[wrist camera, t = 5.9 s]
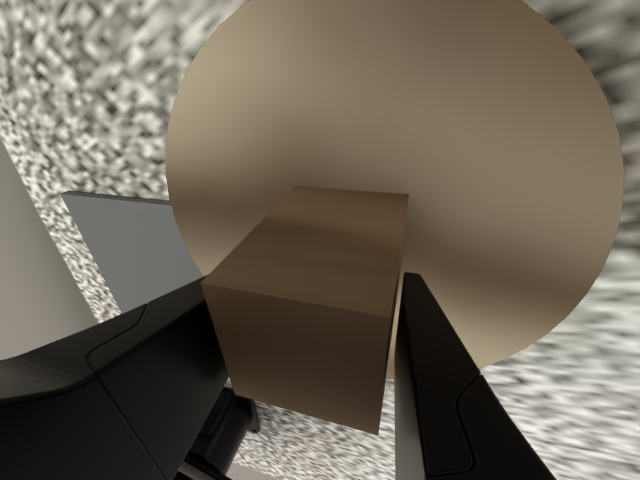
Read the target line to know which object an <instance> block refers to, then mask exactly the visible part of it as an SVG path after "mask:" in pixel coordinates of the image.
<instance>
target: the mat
mask: <svg viewBox="0 0 640 480" xmlns="http://www.w3.org/2000/svg"><path fill="white" fill-rule="evenodd" d="M61 196H62V198H63V200H64V202H65V204H66V206H67V208H68V210H69V212H70V214H71V216H72V218H73V220H74V221H75V223H76V225H77V227H78V229H79V231H80V233H81V235H82V237H83V239H84V241H85V243H86V245H87V247H88V248H89V250H90V252H91V254H92V256H93V258H94V260H95V262H96V264H97V266H98V268H99V270H100V272H101V274H102V276H103V277H104V279H105V281H106V283H107V285H108V287H109V289H110V291H111V293H112V295H113V297H114V299H115V301H116V303H117V305H118V306H119V308H120V310H121V312H122V314H123V313H125V312H127V311H130V310H132V309H134V308H136V307H138V306H140V305H143V304H145V303H147V304H148V302H149V301H151V300H154V299H156V298H158V297H160V296H162V295H164V294H167V293H169V292H171V291H173V290H175V289H178V288H180V287H182V286H184V285H186V284H188V283H191V282H193V281H195V280H197V279H199V278H201V277H204V276H203V275H202V273H201V272H200V270H199V268H198V267H197V265H196V264H195V262H194V260H193V259H192V257H191V255H190V253H189V251H188V249H187V247H186V245H185V243H184V241H183V239H182V236H181V234H180V231H179V228H178V226H177V223H176V221H175V217H174V214H173V210H172V206H171V202H170V201H163V200H153V199H143V198H132V197H122V196H112V195H102V194H92V193H82V192H72V191H67V192H64V193H62V194H61Z"/></svg>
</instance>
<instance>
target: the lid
mask: <svg viewBox="0 0 640 480" xmlns="http://www.w3.org/2000/svg"><path fill="white" fill-rule="evenodd" d="M165 154H166V178H167V185H168V192H169V198H170V202H171V206H172V210H173V214H174V217H175V221H176V223H177V226H178V228H179V231H180V234H181V236H182V239H183V241H184V243H185V245H186V247H187V249H188V251H189V253H190V255H191V257H192V259H193V260H194V262H195V264H196V265H197V267H198V268H199V270H200V272H201V273H202V275H203V276H206V275H208V274H209V275H208V276H207V277H206V278H205V279H204V280H203V281H202V282H201V283H200V284H201V287H202V290H203V293H204V296H205V300H206V303H207V306H208V309H209V313H210V316H211V319H212V322H213V325H214V329H215V332H216V335H217V338H218V341H219V345H220V348H221V351H222V354H223V358H224V361H225V364H226V367H227V370H228V374H229V377H230V380H231V383H232V387H233V390H234V393H235V395H239V396H242V397H246V398H249V399H253V400H256V401H260V402H263V403H267V404H270V405H274V406H277V407H281V408H284V409H288V410H291V411H295V412H298V413H302V414H305V415H309V416H312V417H316V418H319V419H323V420H326V421H330V422H333V423H337V424H340V425H344V426H347V427H351V428H354V429H358V430H361V431H365V432H368V433H372V434H375V435H378V432H379V425H380V418H381V411H382V403H383V396H384V389H385V382H386V379H394V352H395V342H396V333H397V325H398V317H399V308H400V300H401V292H402V284H403V276H404V273H405V272H411V273H418V274H420V275H421V276H422V278H423V279H424V281H425V283H426V284H427V286H428V287H429V289H430V291H431V292H432V294H433V296H434V297H435V299H436V300H437V302H438V304H439V305H440V307H441V308H442V310H443V312H444V313H445V315H446V317H447V318H448V320H449V321H450V323H451V325H452V326H453V328H454V330H455V331H456V333H457V334H458V336H459V338H460V339H461V341H462V343H463V344H464V346H465V347H466V349H467V351H468V352H469V354H470V356H471V357H472V359H473V360H474V362H475V364H476V365H477V367H478V368H479V369H480V368H482V367H485V366H488V365H490V364H493V363H496V362H498V361H501V360H503V359H505V358H507V357H509V356H511V355H513V354H515V353H517V352H519V351H521V350H523V349H525V348H527V347H528V346H530V345H531V344H533V343H534V342H536V341H537V340H539V339H540V338H542V337H543V336H545V335H546V334H547V333H549V332H550V331H551V330H552V329H553V328H554V327H555V326H557V325H558V324H559V323H560V322H561V321H562V320H564V319H565V318H566V317H567V316H568V315H569V314H570V313H571V311H572V310H573V309H574V308H575V307H576V306H577V305H578V303H579V302H580V301H581V300H582V299H583V298H584V297H585V295H586V294H587V293H588V291H589V289H590V288H591V286H592V285H593V283H594V282H595V280H596V278H597V277H598V275H599V274H600V272H601V271H602V269H603V267H604V264H605V262H606V260H607V257H608V255H609V253H610V250H611V248H612V246H613V243H614V241H615V237H616V233H617V229H618V225H619V220H620V216H621V212H622V208H623V188H624V167H623V159H622V152H621V145H620V138H619V133H618V130H617V128H616V125H615V122H614V119H613V116H612V113H611V110H610V107H609V104H608V101H607V98H606V96H605V95H604V93H603V91H602V89H601V88H600V86H599V84H598V82H597V81H596V79H595V77H594V76H593V74H592V72H591V70H590V69H589V67H588V65H587V63H586V62H585V60H584V59H583V58H582V57H581V56H580V55H579V54H578V52H577V51H576V50H575V49H574V48H573V47H572V45H571V44H570V43H569V42H568V41H567V40H566V38H565V37H564V36H563V35H562V34H561V33H560V32H559V30H558V29H557V28H556V27H554V26H553V25H552V24H551V23H549V22H548V21H547V20H545V19H544V18H543V17H542V16H540V15H539V14H538V13H537V12H535V11H534V10H533V9H532V8H530V7H529V6H528V5H527V4H525V3H524V2H523V1H521V0H250V1H248V2H246V3H245V4H244V5H242V6H241V7H240V8H239V9H238V10H237V11H236V12H234V13H233V14H232V15H231V16H230V17H229V18H228V19H227V20H225V21H224V22H223V23H222V24H221V25H220V26H219V27H218V28H217V29H216V30H215V32H214V33H213V34H212V35H211V37H210V38H209V39H208V40H207V41H206V43H205V44H204V45H203V46H202V47H201V49H200V50H199V52H198V53H197V55H196V57H195V58H194V60H193V62H192V63H191V65H190V67H189V69H188V70H187V72H186V74H185V75H184V78H183V80H182V83H181V85H180V88H179V90H178V93H177V95H176V98H175V100H174V104H173V108H172V112H171V116H170V120H169V124H168V131H167V141H166V150H165Z"/></svg>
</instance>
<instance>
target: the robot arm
mask: <svg viewBox="0 0 640 480" xmlns="http://www.w3.org/2000/svg"><path fill="white" fill-rule="evenodd" d="M208 275H209V274H208ZM208 275H206V276H204V277H201V278H199V279H197V280H195V281H193V282H191V283H188V284H186V285H184V286H182V287H180V288H178V289H175V290H173V291H171V292H169V293H167V294H164V295H162V296H160V297H158V298H156V299H154V300H151V301H149V302H148V304H147V303H145V304H143V305H140V306H138V307H136V308H134V309H132V310H130V311H127V312H125V313H123V314H121V315H118V316H116V317H114V318H112V319H109V320H107V321H104V322H102V323H99V324H97V325H95V326H92V327H90V328H87V329H85V330H82V331H80V332H77V333H75V334H72V335H70V336H67V337H65V338H62V339H60V340H57V341H55V342H52V343H49V344H47V345H45V346H42V347H40V348H37V349H35V350H32V351H29V352H27V353H24V354H21V355H19V356H16V357H12V358H9V359H5V360H0V480H232V479H230V478H228V477H226V473H227V471H228V469H229V467H230V465H231V463H232V461H233V459H234V457H235V455H236V453H237V451H238V449H239V447H240V444H241V442H242V440H243V438H244V436H245V434H246V432H247V431H250V432H253V433H258V432H259V430H260V427H259V423H258V419H257V416H256V412H255V408H254V405H253V401H252V399H249V398H246V397H242V396H239V395H235V393H234V392H231V391H228V390H224V389H222V388H223V387H224V385H225V383H226V381H227V379H228V377H229V374H228V370H227V367H226V364H225V361H224V358H223V354H222V351H221V348H220V345H219V341H218V338H217V335H216V332H215V329H214V325H213V322H212V319H211V316H210V313H209V309H208V306H207V303H206V300H205V296H204V293H203V290H202V287H201V284H200V283H201V282H202V281H203V280H204V279H205V278H206V277H207V276H208ZM394 387H395V469H396V480H556V478H555V477H554V476H553V474H552V473H551V472H550V470H549V469H548V468H547V467H546V465H545V464H544V463H543V461H542V460H541V459H540V457H539V456H538V455H537V453H536V452H535V451H534V449H533V448H532V447H531V446H530V444H529V443H528V441H527V440H526V439H525V437H524V436H523V435H522V433H521V432H520V431H519V429H518V428H517V426H516V425H515V424H514V422H513V421H512V420H511V418H510V417H509V415H508V414H507V412H506V411H505V409H504V408H503V406H502V405H501V403H500V402H499V400H498V399H497V397H496V396H495V394H494V393H493V391H492V389H491V388H490V386H489V384H488V383H487V381H486V380H485V378H484V376H483V375H481V372H480V370H479V368H478V367H477V365H476V364H475V362H474V360H473V359H472V357H471V356H470V354H469V352H468V351H467V349H466V347H465V346H464V344H463V343H462V341H461V339H460V338H459V336H458V334H457V333H456V331H455V330H454V328H453V326H452V325H451V323H450V321H449V320H448V318H447V317H446V315H445V313H444V312H443V310H442V308H441V307H440V305H439V304H438V302H437V300H436V299H435V297H434V296H433V294H432V292H431V291H430V289H429V287H428V286H427V284H426V283H425V281H424V279H423V278H422V276H421V275H420V274H418V273H411V272H405V273H404V276H403V284H402V292H401V300H400V308H399V317H398V325H397V333H396V342H395V352H394Z"/></svg>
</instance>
